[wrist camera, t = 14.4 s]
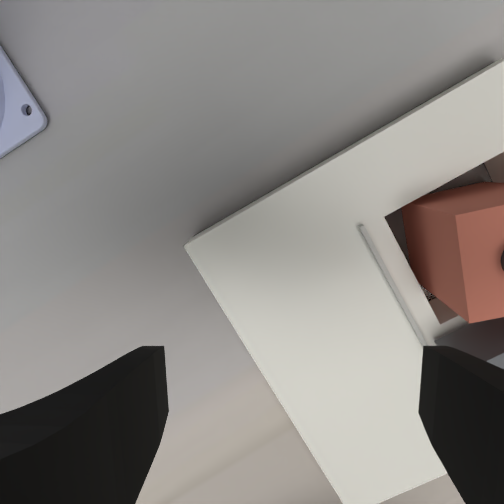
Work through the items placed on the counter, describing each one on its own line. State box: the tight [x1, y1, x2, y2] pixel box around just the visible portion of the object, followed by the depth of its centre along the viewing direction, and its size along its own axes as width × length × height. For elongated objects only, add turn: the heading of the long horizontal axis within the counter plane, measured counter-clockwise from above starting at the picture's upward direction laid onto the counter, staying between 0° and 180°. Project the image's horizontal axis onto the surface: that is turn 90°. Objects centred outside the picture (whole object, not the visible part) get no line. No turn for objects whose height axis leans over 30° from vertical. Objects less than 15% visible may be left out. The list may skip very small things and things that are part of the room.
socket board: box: [183, 58, 504, 504], centre depth 19 cm, size 16×16×3 cm
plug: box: [401, 182, 504, 324], centre depth 17 cm, size 4×4×7 cm
